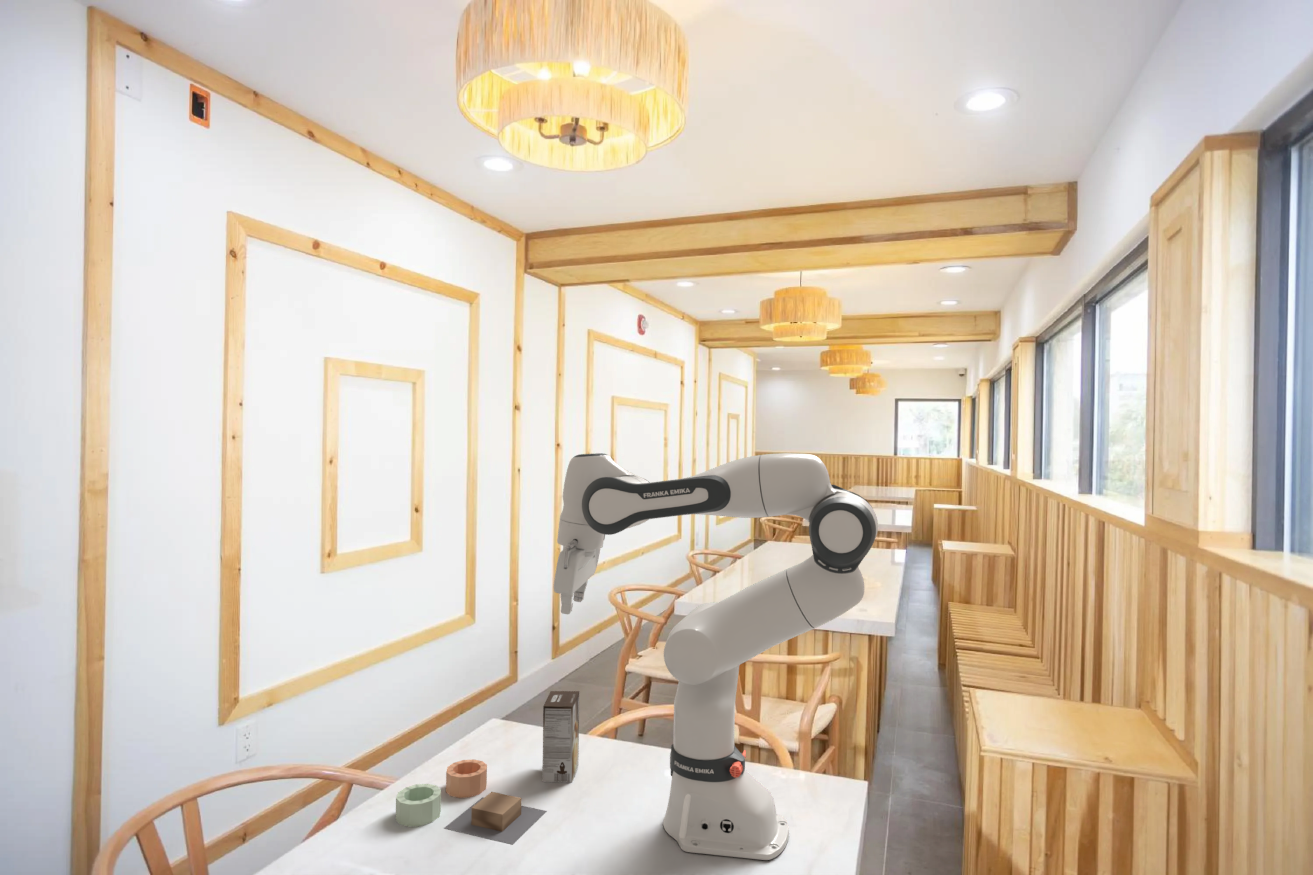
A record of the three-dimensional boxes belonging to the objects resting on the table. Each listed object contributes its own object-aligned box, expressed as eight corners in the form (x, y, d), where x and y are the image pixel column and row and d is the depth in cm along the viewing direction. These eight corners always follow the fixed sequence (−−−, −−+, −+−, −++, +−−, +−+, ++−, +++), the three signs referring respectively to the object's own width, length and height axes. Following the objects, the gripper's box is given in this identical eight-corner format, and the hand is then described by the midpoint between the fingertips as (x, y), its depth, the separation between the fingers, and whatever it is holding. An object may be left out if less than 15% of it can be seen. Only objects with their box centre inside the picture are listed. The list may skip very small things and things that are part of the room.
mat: (546, 814, 135) (547, 810, 135) (512, 847, 124) (512, 844, 124) (482, 800, 140) (482, 796, 140) (443, 831, 128) (443, 827, 128)
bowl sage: (448, 812, 135) (449, 788, 135) (422, 832, 128) (422, 807, 128) (414, 804, 138) (415, 780, 138) (387, 824, 130) (387, 799, 130)
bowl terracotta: (493, 785, 145) (494, 763, 146) (471, 803, 138) (472, 779, 138) (461, 778, 148) (462, 756, 148) (438, 796, 141) (438, 772, 141)
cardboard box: (521, 814, 133) (521, 797, 133) (502, 831, 127) (502, 814, 127) (491, 807, 136) (491, 791, 136) (471, 824, 130) (471, 807, 130)
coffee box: (549, 764, 155) (550, 689, 155) (578, 765, 155) (580, 690, 155) (541, 785, 146) (542, 705, 146) (573, 785, 146) (574, 705, 146)
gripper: (584, 547, 129) (575, 623, 129) (607, 530, 149) (599, 597, 149) (550, 542, 130) (541, 618, 130) (577, 526, 150) (569, 592, 150)
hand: (572, 606), depth 140 cm, fingers open, 8 cm apart
